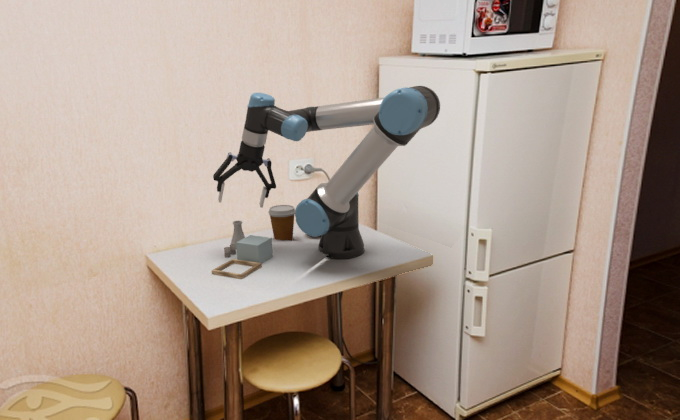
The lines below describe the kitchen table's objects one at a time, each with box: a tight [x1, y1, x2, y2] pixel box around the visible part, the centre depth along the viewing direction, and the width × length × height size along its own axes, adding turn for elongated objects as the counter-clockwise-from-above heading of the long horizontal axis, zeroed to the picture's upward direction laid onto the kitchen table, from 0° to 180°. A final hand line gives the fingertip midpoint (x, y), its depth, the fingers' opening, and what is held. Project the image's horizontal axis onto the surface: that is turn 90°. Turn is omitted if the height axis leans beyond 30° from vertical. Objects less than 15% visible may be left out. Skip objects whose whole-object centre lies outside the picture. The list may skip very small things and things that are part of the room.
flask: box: [229, 220, 246, 247], centre depth 190 cm, size 7×7×10 cm
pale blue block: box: [236, 234, 274, 264], centre depth 178 cm, size 8×8×6 cm
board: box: [211, 243, 263, 280], centre depth 175 cm, size 18×20×4 cm
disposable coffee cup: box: [267, 204, 296, 242], centre depth 199 cm, size 10×10×12 cm
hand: (240, 203), depth 185 cm, fingers open, 13 cm apart
